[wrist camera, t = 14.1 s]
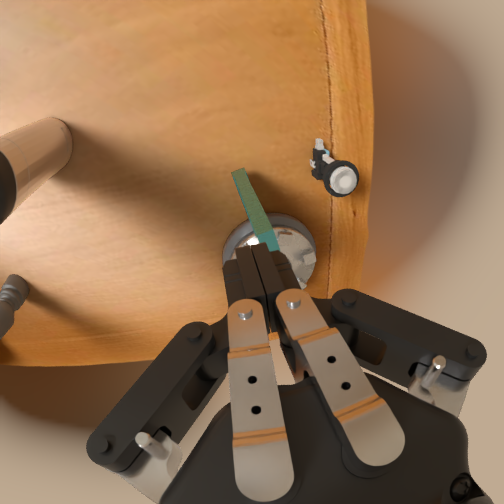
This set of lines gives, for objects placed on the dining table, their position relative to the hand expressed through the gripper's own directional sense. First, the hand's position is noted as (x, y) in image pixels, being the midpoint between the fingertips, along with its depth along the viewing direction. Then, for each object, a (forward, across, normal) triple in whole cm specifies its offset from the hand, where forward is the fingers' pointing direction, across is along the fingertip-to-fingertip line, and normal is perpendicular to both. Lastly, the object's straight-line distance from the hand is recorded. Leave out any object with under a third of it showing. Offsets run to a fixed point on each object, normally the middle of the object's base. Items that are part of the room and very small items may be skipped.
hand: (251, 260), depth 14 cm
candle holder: (+32, +48, +18) cm, 61 cm away
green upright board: (+30, -5, +18) cm, 35 cm away
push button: (+32, -16, +6) cm, 36 cm away
